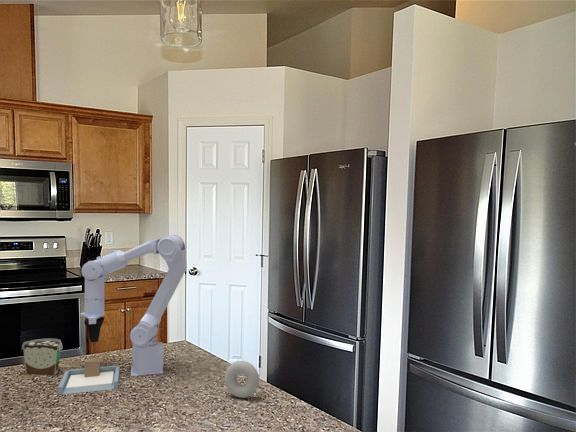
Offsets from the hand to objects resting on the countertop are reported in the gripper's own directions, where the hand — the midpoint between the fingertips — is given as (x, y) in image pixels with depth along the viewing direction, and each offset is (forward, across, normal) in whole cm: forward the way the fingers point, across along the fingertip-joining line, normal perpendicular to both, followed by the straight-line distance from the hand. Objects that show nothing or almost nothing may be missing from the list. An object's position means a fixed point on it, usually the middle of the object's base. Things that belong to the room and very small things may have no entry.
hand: (94, 341), depth 143 cm
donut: (+10, +33, +40) cm, 53 cm away
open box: (+9, +11, 0) cm, 14 cm away
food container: (+10, -3, -14) cm, 17 cm away
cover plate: (+9, +10, 0) cm, 14 cm away
